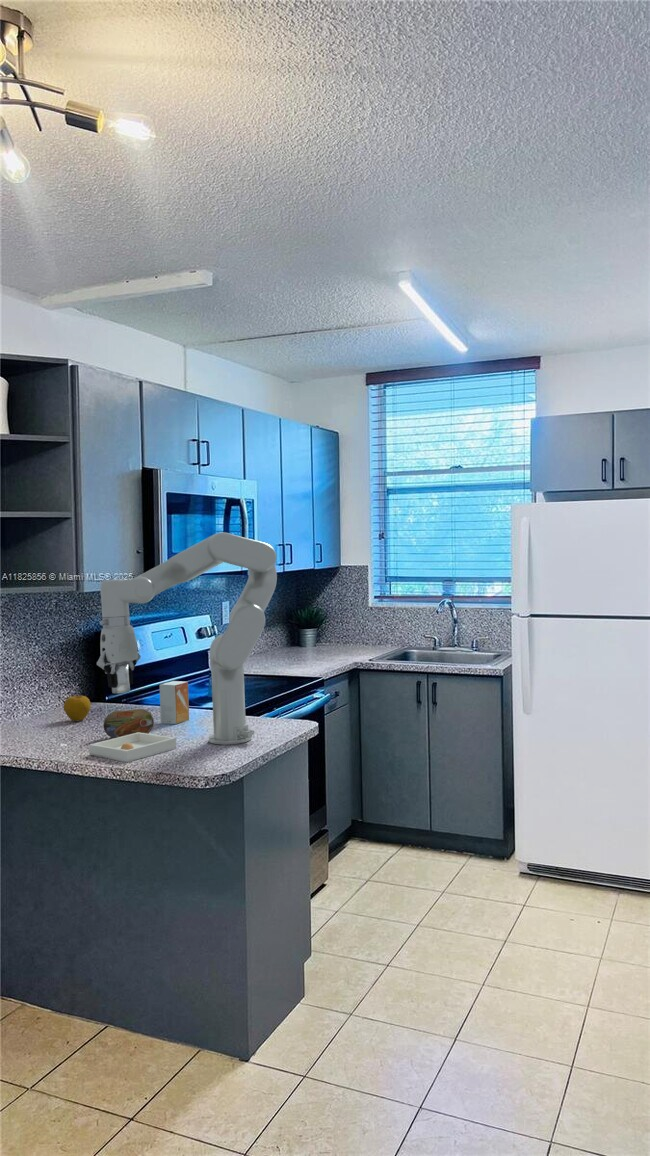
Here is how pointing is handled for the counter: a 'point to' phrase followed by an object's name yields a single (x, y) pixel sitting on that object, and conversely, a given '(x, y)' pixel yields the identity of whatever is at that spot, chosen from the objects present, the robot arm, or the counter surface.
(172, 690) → the small box
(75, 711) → the apple
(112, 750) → the tray
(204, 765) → the counter surface
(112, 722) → the tin
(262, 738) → the counter surface
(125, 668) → the shaker
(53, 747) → the counter surface
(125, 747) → the ball
